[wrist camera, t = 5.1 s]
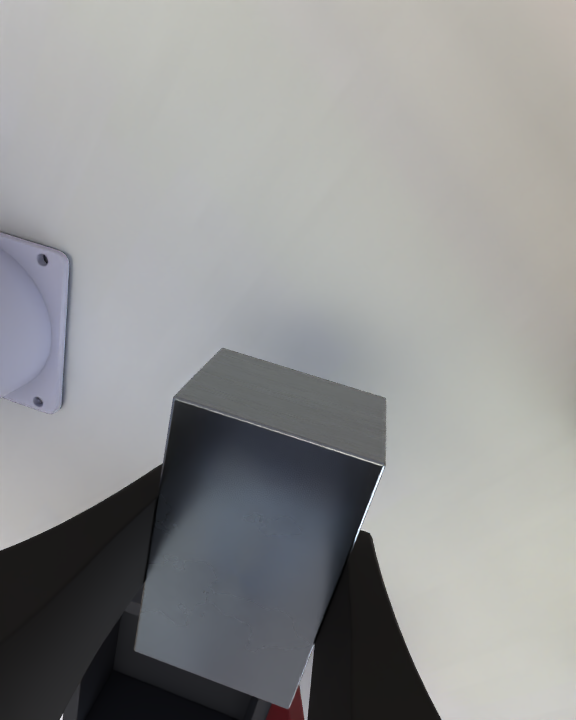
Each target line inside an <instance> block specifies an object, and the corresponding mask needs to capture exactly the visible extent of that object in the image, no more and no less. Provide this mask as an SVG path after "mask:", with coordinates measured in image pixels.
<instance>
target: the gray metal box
mask: <svg viewBox="0 0 576 720" xmlns="http://www.w3.org/2000/svg"><path fill="white" fill-rule="evenodd" d="M385 466H386V398H384V397H381V396H378V395H374V394H371V393H368V392H365V391H361V390H358V389H355V388H352V387H348V386H345V385H342V384H339V383H335V382H332V381H329V380H326V379H322V378H319V377H316V376H313V375H309V374H306V373H303V372H300V371H296V370H293V369H290V368H287V367H283V366H280V365H277V364H274V363H270V362H267V361H264V360H261V359H257V358H254V357H251V356H248V355H244V354H241V353H238V352H235V351H231V350H228V349H225V348H221V349H220V350H219V351H218V352H217V353H216V354H215V355H214V356H213V357H212V358H211V359H210V360H209V361H208V362H207V363H206V364H205V365H204V367H203V368H202V369H201V370H200V371H199V372H198V373H197V374H196V375H195V376H194V377H193V378H192V379H191V380H190V381H189V382H188V383H187V384H186V385H185V386H184V387H183V388H182V389H181V390H180V391H179V392H178V393H177V394H176V395H175V396H174V397H173V402H172V409H171V415H170V422H169V428H168V434H167V441H166V447H165V453H164V460H163V466H162V473H161V479H160V485H159V492H158V498H157V505H156V511H155V517H154V524H153V530H152V537H151V543H150V549H149V556H148V562H147V568H146V575H145V581H144V588H143V594H142V600H141V607H140V613H139V620H138V626H137V632H136V639H135V645H134V651H136V652H138V653H141V654H144V655H146V656H149V657H151V658H154V659H157V660H159V661H162V662H165V663H167V664H170V665H172V666H175V667H178V668H180V669H183V670H186V671H188V672H191V673H193V674H196V675H199V676H201V677H204V678H207V679H209V680H212V681H214V682H217V683H220V684H222V685H225V686H228V687H230V688H233V689H235V690H238V691H241V692H243V693H246V694H249V695H251V696H254V697H256V698H259V699H262V700H264V701H267V702H270V703H272V704H275V705H277V706H280V707H283V708H285V709H289V707H290V705H291V703H292V700H293V698H294V695H295V693H296V690H297V688H298V685H299V683H300V680H301V678H302V675H303V673H304V670H305V668H306V665H307V663H308V660H309V658H310V655H311V652H312V650H313V647H314V645H315V642H316V639H317V637H318V634H319V632H320V629H321V627H322V624H323V622H324V619H325V617H326V614H327V612H328V609H329V607H330V604H331V602H332V599H333V597H334V594H335V592H336V589H337V587H338V584H339V581H340V579H341V576H342V574H343V571H344V569H345V566H346V564H347V562H348V559H349V557H350V554H351V552H352V549H353V547H354V544H355V542H356V539H357V537H358V534H359V531H360V529H361V526H362V524H363V521H364V519H365V516H366V514H367V511H368V509H369V506H370V504H371V501H372V499H373V496H374V494H375V491H376V489H377V486H378V484H379V481H380V479H381V476H382V474H383V471H384V468H385Z"/></svg>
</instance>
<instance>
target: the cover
mask: <svg viewBox="0 0 576 720" xmlns="http://www.w3.org/2000/svg"><path fill="white" fill-rule="evenodd" d="M266 720H304V714H303V707H302V700H301V693H300V686H299V685H298V688H297V690H296V693H295V695H294V698H293V700H292V703H291V705H290V707H289V709H285V708H283V707H280V706H277V705H275V704H271V707H270V710H269V712H268V715H267V717H266Z"/></svg>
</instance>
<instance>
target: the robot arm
mask: <svg viewBox="0 0 576 720" xmlns="http://www.w3.org/2000/svg"><path fill="white" fill-rule="evenodd" d="M44 255H46V257H47V258H48V264H47V263H45V261H44V259H43V256H44ZM68 280H69V260H68V258H67V256H66V255H65V254H64V253H63V252H61V251H59V250H56V249H53V248H50V247H46V246H43V245H40V244H37V243H33V242H30V241H27V240H24V239H20V238H17V237H14V236H11V235H8V234H4V233H1V232H0V398H4V399H7V400H10V401H13V402H16V403H19V404H22V405H24V406H27V407H30V408H33V409H36V410H39V411H42V412H45V413H48V414H53V413H55V412H57V411H58V410H59V409H60V408H61V404H62V386H63V368H64V351H65V333H66V315H67V298H68ZM39 398H40V399H41V400H42V402H43V403H42V402H41V401H40V400H39ZM162 466H163V464H161V465H159V466H158V467H156V468H155V469H153V470H151V471H150V472H148V473H147V474H145V475H144V476H142V477H141V478H139V479H138V480H136V481H135V482H133V483H131V484H130V485H128V486H127V487H125V488H123V489H122V490H120V491H119V492H117V493H115V494H114V495H112V496H110V497H109V498H107V499H105V500H104V501H102V502H100V503H98V504H97V505H95V506H93V507H92V508H90V509H88V510H86V511H84V512H82V513H80V514H78V515H77V516H75V517H73V518H71V519H69V520H67V521H65V522H64V523H62V524H60V525H58V526H56V527H53V528H51V529H49V530H47V531H45V532H43V533H41V534H39V535H37V536H34V537H32V538H30V539H28V540H25V541H23V542H21V543H18V544H16V545H14V546H11V547H9V548H6V549H3V550H1V551H0V720H60V718H61V716H62V714H63V712H64V711H65V709H66V707H67V705H68V703H69V701H70V699H71V698H72V696H73V694H74V692H75V690H76V689H77V687H78V685H79V683H80V681H81V680H82V678H83V676H84V674H85V672H86V671H87V669H88V667H89V665H90V663H91V662H92V660H93V658H94V657H95V655H96V653H97V652H98V650H99V649H100V647H101V645H102V644H103V642H104V641H105V639H106V638H107V636H108V635H109V633H110V632H111V630H112V629H113V627H114V626H115V624H116V623H117V621H118V620H119V618H120V617H121V615H122V614H123V612H124V611H125V609H126V608H127V606H128V605H129V603H130V602H131V600H132V599H133V597H134V596H135V595H136V593H137V592H138V590H139V589H140V587H141V586H142V584H143V583H144V581H145V575H146V568H147V562H148V556H149V549H150V543H151V537H152V530H153V524H154V517H155V511H156V505H157V498H158V492H159V485H160V479H161V473H162ZM308 720H441V718H440V716H439V714H438V712H437V710H436V708H435V706H434V704H433V703H432V701H431V699H430V697H429V695H428V693H427V690H426V688H425V686H424V684H423V682H422V680H421V678H420V676H419V674H418V671H417V669H416V667H415V665H414V662H413V660H412V658H411V655H410V653H409V651H408V648H407V646H406V643H405V641H404V638H403V636H402V633H401V631H400V628H399V626H398V623H397V620H396V618H395V615H394V612H393V609H392V606H391V603H390V600H389V597H388V594H387V591H386V588H385V585H384V582H383V578H382V575H381V571H380V568H379V564H378V560H377V557H376V553H375V548H374V544H373V539H372V537H371V535H370V533H367V532H364V531H362V530H360V531H359V534H358V537H357V539H356V542H355V544H354V547H353V549H352V552H351V554H350V557H349V559H348V562H347V564H346V566H345V569H344V571H343V574H342V576H341V579H340V581H339V584H338V587H337V589H336V592H335V594H334V597H333V599H332V602H331V604H330V607H329V609H328V612H327V614H326V617H325V619H324V622H323V624H322V627H321V629H320V632H319V634H318V637H317V639H316V642H315V646H314V657H313V667H312V678H311V689H310V699H309V710H308Z"/></svg>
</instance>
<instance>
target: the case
mask: <svg viewBox="0 0 576 720" xmlns="http://www.w3.org/2000/svg"><path fill="white" fill-rule="evenodd" d="M143 588H144V583H143V584H142V586H141V587H140V589H139V590H138V592H137V593H136V595H135V596H134V597H133V599H132V600H131V602H130V603H129V605H128V606H127V608H126V609H125V611H124V612H123V614H122V615H121V617H120V618H119V620H118V621H117V623H116V624H115V626H114V627H113V629H112V630H111V632H110V633H109V635H108V636H107V638H106V639H105V641H104V642H103V644H102V645H101V647H100V649H99V650H98V652H97V653H96V655H95V657H94V658H93V660H92V662H91V663H90V665H89V667H88V669H87V671H86V672H85V674H84V676H83V678H82V680H81V681H80V683H79V685H78V687H77V689H76V690H75V692H74V694H73V696H72V698H71V699H70V701H69V703H68V705H67V707H66V709H65V711H64V712H63V720H266V717H267V715H268V712H269V710H270V707H271V704H272V703H270V702H267V701H264V700H262V699H259V698H256V697H254V696H251V695H249V694H246V693H243V692H241V691H238V690H235V689H233V688H230V687H228V686H225V685H222V684H220V683H217V682H214V681H212V680H209V679H207V678H204V677H201V676H199V675H196V674H193V673H191V672H188V671H186V670H183V669H180V668H178V667H175V666H172V665H170V664H167V663H165V662H162V661H159V660H157V659H154V658H151V657H149V656H146V655H144V654H141V653H138V652H136V651H134V645H135V639H136V632H137V626H138V620H139V613H140V607H141V600H142V594H143Z"/></svg>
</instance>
